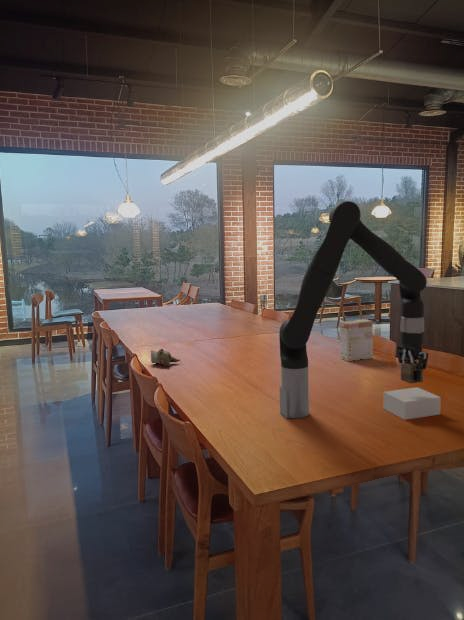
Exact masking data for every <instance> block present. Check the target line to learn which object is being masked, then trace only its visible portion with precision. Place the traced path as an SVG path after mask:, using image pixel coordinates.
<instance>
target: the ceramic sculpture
mask: <svg viewBox="0 0 464 620" xmlns="http://www.w3.org/2000/svg"><path fill="white" fill-rule="evenodd" d="M150 361H151V364H152V363H159V364H158V365H160V364H162V365H161V366H163V365H164V366H163V367H168V366H170V365H171V362H175V363H177V362H180V361H181V359H178V358H176V357H174V356H172V355H171V352H169V351H165V350H164V349H163V348H160V349H158V351H156V350H152V349H151V350H150Z"/></svg>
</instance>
